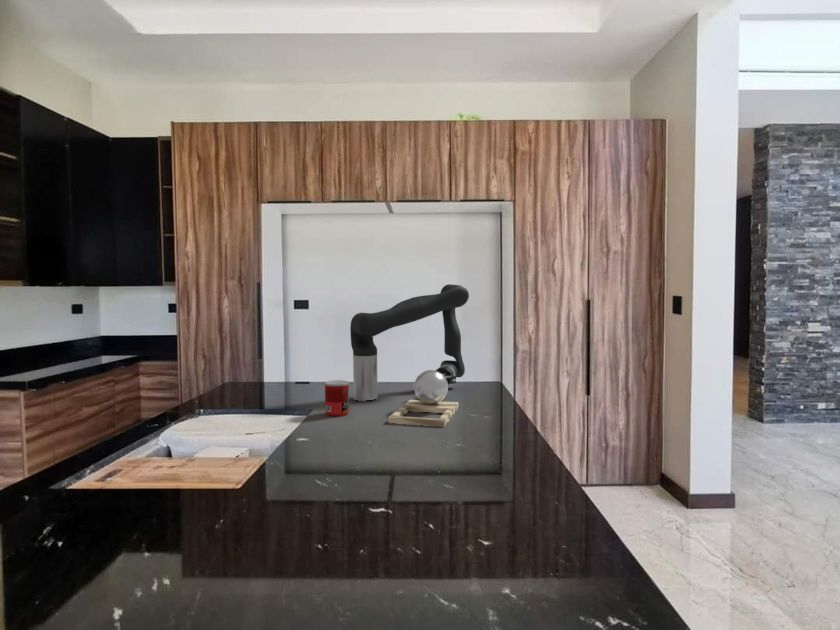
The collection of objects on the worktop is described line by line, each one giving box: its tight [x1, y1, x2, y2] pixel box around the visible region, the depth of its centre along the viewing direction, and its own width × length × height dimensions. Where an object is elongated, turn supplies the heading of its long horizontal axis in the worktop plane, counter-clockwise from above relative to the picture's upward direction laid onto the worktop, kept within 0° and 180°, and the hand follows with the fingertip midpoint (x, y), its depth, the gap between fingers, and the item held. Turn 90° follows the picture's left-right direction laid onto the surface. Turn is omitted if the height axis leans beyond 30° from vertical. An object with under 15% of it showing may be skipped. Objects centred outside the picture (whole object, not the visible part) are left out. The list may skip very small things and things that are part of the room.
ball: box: [413, 369, 449, 404], centre depth 182 cm, size 12×12×12 cm
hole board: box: [387, 399, 460, 428], centre depth 174 cm, size 26×18×2 cm
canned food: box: [324, 379, 350, 418], centre depth 176 cm, size 8×8×11 cm
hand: (435, 383), depth 188 cm, fingers closed
